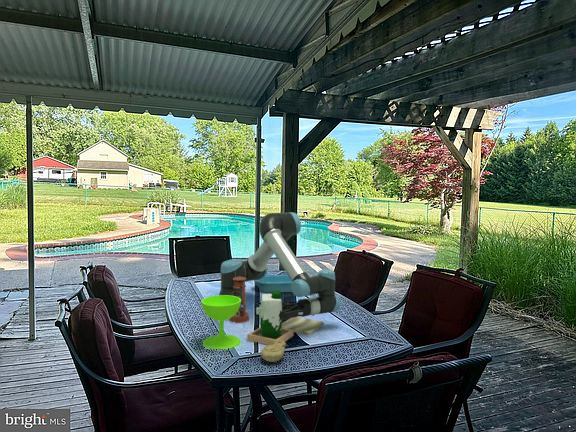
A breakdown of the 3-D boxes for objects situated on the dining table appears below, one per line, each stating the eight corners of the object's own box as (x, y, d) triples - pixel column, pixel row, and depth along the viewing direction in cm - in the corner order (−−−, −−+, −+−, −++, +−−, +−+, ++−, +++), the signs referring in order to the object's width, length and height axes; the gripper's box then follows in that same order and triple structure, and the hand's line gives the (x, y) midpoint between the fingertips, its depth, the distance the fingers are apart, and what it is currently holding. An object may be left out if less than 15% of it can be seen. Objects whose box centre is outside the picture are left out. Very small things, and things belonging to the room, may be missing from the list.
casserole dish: (306, 284, 264) (306, 273, 264) (314, 292, 242) (314, 281, 242) (251, 286, 257) (251, 275, 257) (255, 295, 235) (255, 283, 235)
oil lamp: (284, 349, 156) (284, 336, 156) (291, 365, 142) (291, 351, 142) (257, 350, 154) (257, 338, 154) (262, 367, 140) (262, 353, 140)
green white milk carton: (282, 341, 164) (282, 295, 161) (260, 342, 163) (260, 296, 160) (280, 332, 172) (281, 288, 169) (260, 333, 171) (260, 289, 168)
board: (277, 328, 179) (277, 326, 178) (293, 318, 193) (293, 316, 193) (309, 335, 171) (309, 332, 171) (324, 324, 185) (324, 321, 185)
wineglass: (206, 354, 150) (205, 308, 149) (198, 339, 165) (197, 297, 164) (246, 347, 157) (246, 303, 156) (235, 334, 171) (235, 293, 170)
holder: (247, 340, 165) (247, 334, 164) (265, 329, 177) (265, 324, 177) (276, 347, 158) (276, 341, 158) (293, 335, 170) (293, 330, 170)
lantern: (252, 317, 193) (253, 257, 191) (243, 324, 183) (243, 261, 181) (234, 315, 196) (234, 256, 194) (225, 322, 187) (225, 259, 185)
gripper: (319, 322, 166) (269, 330, 156) (297, 308, 184) (251, 315, 174) (319, 304, 166) (269, 311, 155) (297, 293, 184) (251, 298, 173)
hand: (260, 313), depth 165 cm, fingers closed on green white milk carton, 7 cm apart
